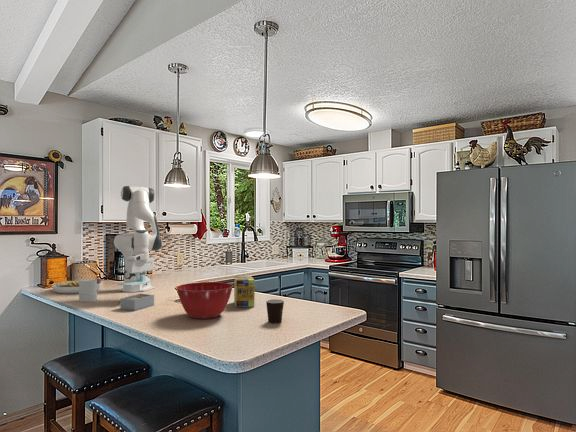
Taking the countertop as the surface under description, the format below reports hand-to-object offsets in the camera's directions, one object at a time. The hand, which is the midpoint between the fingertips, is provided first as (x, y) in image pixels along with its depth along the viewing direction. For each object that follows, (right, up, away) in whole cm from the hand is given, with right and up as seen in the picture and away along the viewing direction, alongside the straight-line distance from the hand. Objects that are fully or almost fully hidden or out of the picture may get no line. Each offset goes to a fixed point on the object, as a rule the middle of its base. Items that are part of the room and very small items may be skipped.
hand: (140, 279), depth 239 cm
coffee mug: (+84, -13, -47) cm, 97 cm away
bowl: (-55, -13, +30) cm, 64 cm away
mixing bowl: (+47, -13, -38) cm, 62 cm away
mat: (-2, -13, -5) cm, 14 cm away
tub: (+6, -12, -20) cm, 24 cm away
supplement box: (-31, -13, -3) cm, 33 cm away
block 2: (+7, -12, -18) cm, 22 cm away
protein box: (+64, -13, -11) cm, 67 cm away
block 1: (+5, -12, -23) cm, 26 cm away
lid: (-2, -2, -5) cm, 6 cm away
